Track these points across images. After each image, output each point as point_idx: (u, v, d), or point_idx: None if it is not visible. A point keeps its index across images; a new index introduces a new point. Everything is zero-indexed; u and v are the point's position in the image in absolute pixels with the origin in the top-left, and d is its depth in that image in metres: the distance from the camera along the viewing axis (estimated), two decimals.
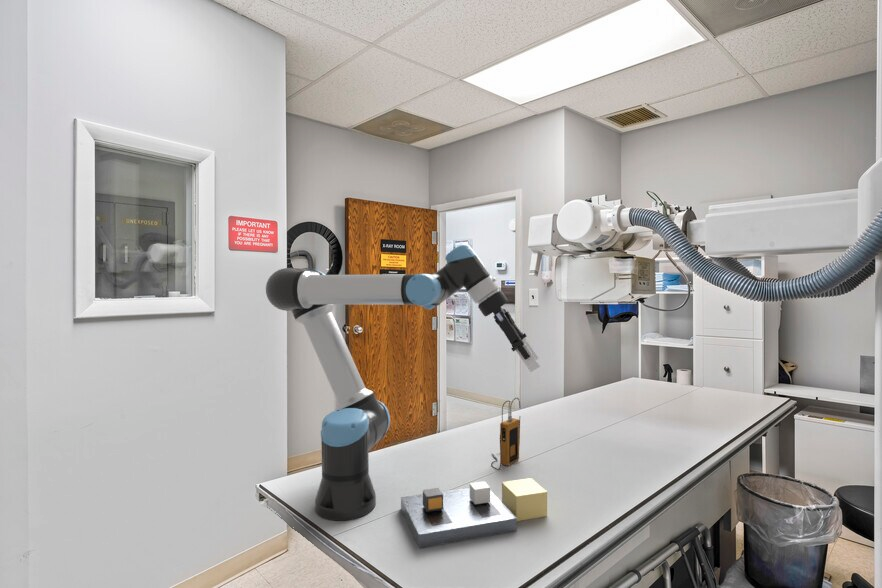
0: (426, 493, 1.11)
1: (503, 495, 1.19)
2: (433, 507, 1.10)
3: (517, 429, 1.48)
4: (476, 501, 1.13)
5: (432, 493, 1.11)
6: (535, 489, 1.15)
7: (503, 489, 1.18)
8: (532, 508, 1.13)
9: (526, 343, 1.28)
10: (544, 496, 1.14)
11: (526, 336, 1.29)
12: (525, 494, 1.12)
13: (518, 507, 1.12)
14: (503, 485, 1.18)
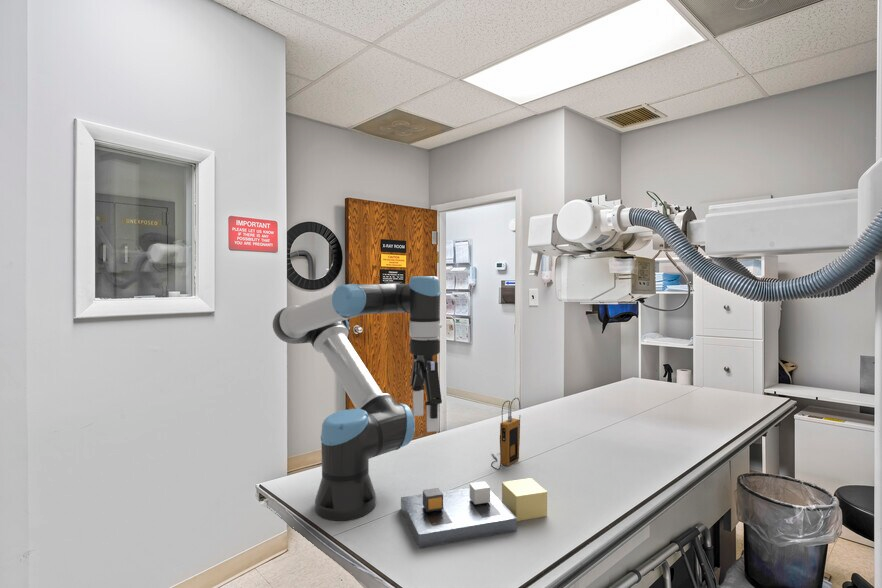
0: (426, 493, 1.11)
1: (503, 495, 1.19)
2: (433, 507, 1.10)
3: (517, 429, 1.48)
4: (476, 501, 1.13)
5: (432, 493, 1.11)
6: (535, 489, 1.15)
7: (503, 489, 1.18)
8: (532, 508, 1.13)
9: (421, 396, 1.24)
10: (544, 496, 1.14)
11: None
12: (525, 494, 1.12)
13: (518, 507, 1.12)
14: (503, 485, 1.18)
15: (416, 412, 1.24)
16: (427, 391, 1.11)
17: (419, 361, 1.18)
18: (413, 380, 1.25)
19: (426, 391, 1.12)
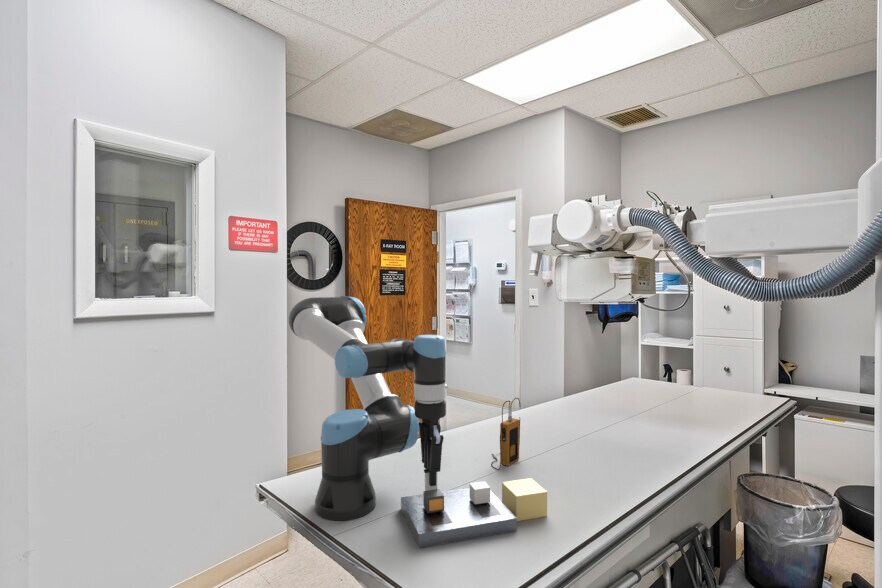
0: (427, 494, 1.10)
1: (503, 495, 1.19)
2: (434, 508, 1.09)
3: (517, 429, 1.48)
4: (476, 501, 1.13)
5: (433, 494, 1.10)
6: (535, 489, 1.15)
7: (503, 489, 1.18)
8: (532, 508, 1.13)
9: None
10: (544, 496, 1.14)
11: None
12: (525, 494, 1.12)
13: (518, 507, 1.12)
14: (503, 485, 1.18)
15: None
16: (428, 460, 1.11)
17: None
18: (424, 453, 1.16)
19: (427, 457, 1.12)
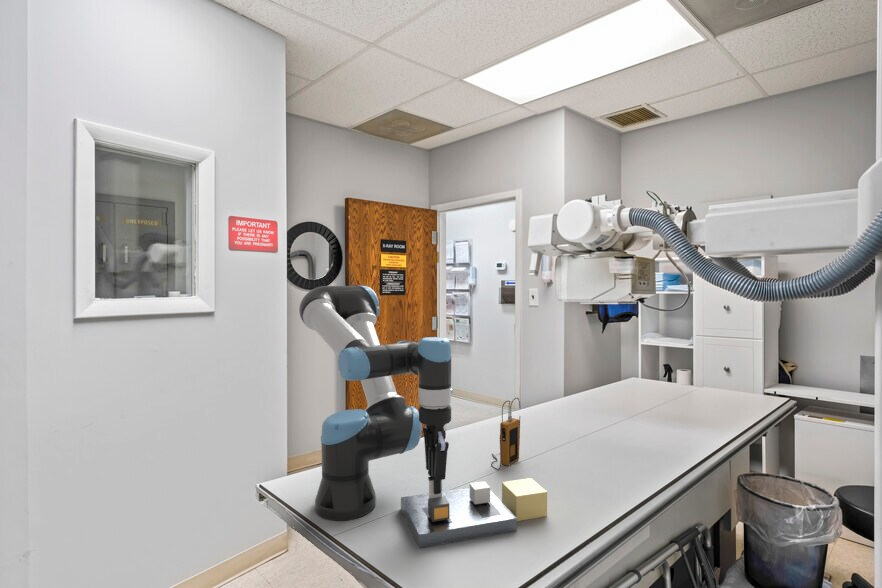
0: (432, 502, 1.06)
1: (503, 495, 1.19)
2: (439, 517, 1.05)
3: (517, 429, 1.48)
4: (476, 501, 1.13)
5: (438, 502, 1.06)
6: (535, 489, 1.15)
7: (503, 489, 1.18)
8: (532, 508, 1.13)
9: None
10: (544, 496, 1.14)
11: None
12: (525, 494, 1.12)
13: (518, 507, 1.12)
14: (503, 485, 1.18)
15: None
16: (432, 467, 1.07)
17: None
18: (428, 460, 1.12)
19: (431, 464, 1.08)
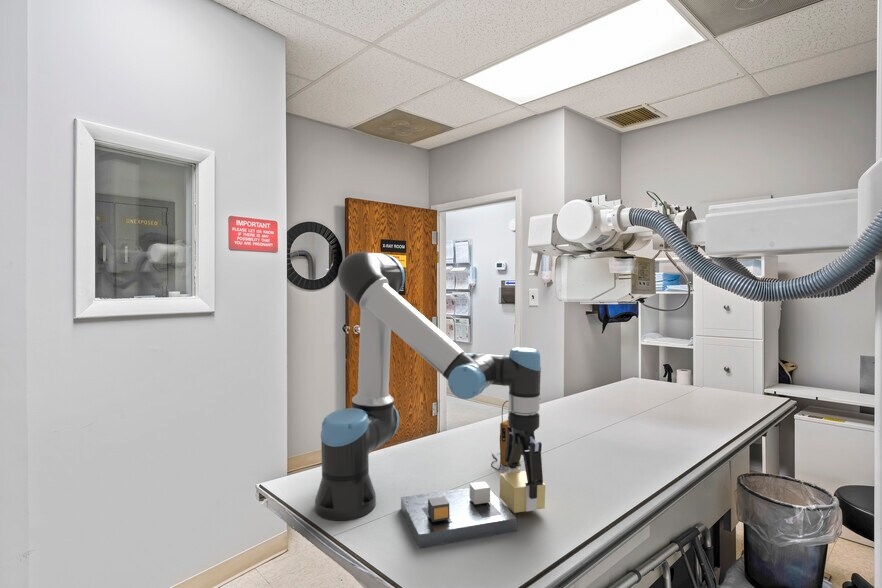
0: (432, 502, 1.06)
1: (501, 487, 1.19)
2: (439, 517, 1.05)
3: None
4: (476, 501, 1.13)
5: (438, 502, 1.06)
6: None
7: (501, 481, 1.18)
8: None
9: None
10: (542, 488, 1.14)
11: None
12: (523, 486, 1.12)
13: (515, 499, 1.12)
14: (501, 477, 1.18)
15: None
16: (528, 471, 1.11)
17: (517, 432, 1.17)
18: (508, 455, 1.22)
19: (526, 469, 1.12)
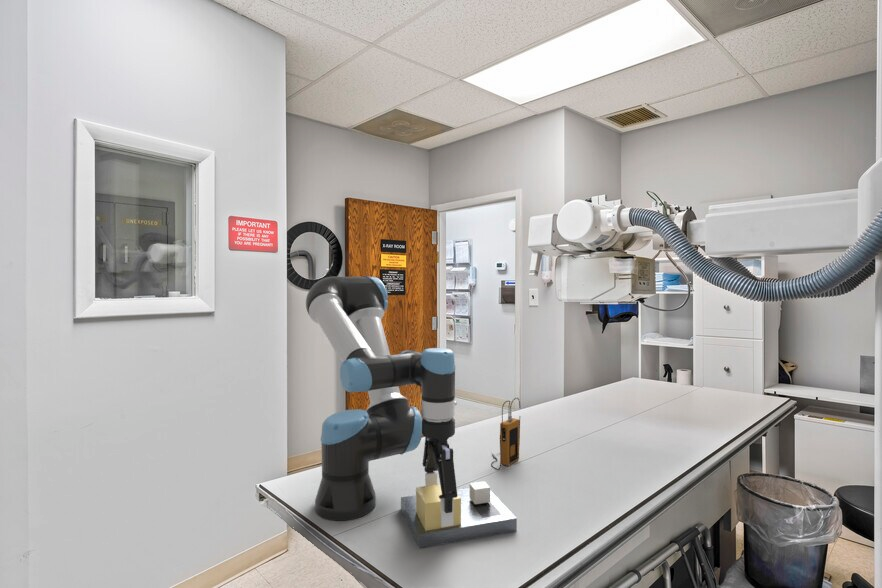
0: None
1: (417, 502, 1.09)
2: None
3: (517, 429, 1.48)
4: (476, 501, 1.13)
5: None
6: None
7: (416, 495, 1.09)
8: None
9: (435, 479, 1.13)
10: (457, 503, 1.04)
11: (437, 470, 1.14)
12: (436, 501, 1.03)
13: (427, 515, 1.02)
14: (416, 491, 1.09)
15: None
16: (441, 482, 1.01)
17: (432, 442, 1.07)
18: (425, 460, 1.14)
19: (440, 481, 1.01)
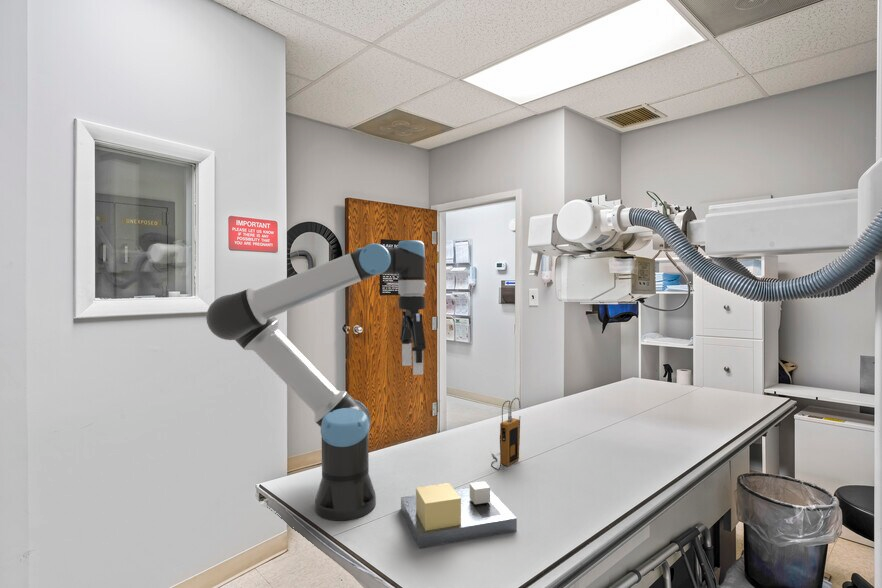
0: None
1: (417, 502, 1.09)
2: None
3: (517, 429, 1.48)
4: (476, 501, 1.13)
5: None
6: (449, 496, 1.05)
7: (416, 495, 1.09)
8: (443, 516, 1.03)
9: (409, 348, 1.40)
10: (457, 503, 1.04)
11: (412, 342, 1.42)
12: (436, 501, 1.03)
13: (427, 515, 1.02)
14: (416, 491, 1.09)
15: (405, 363, 1.40)
16: (413, 339, 1.27)
17: (407, 316, 1.34)
18: (402, 335, 1.41)
19: (412, 340, 1.28)
